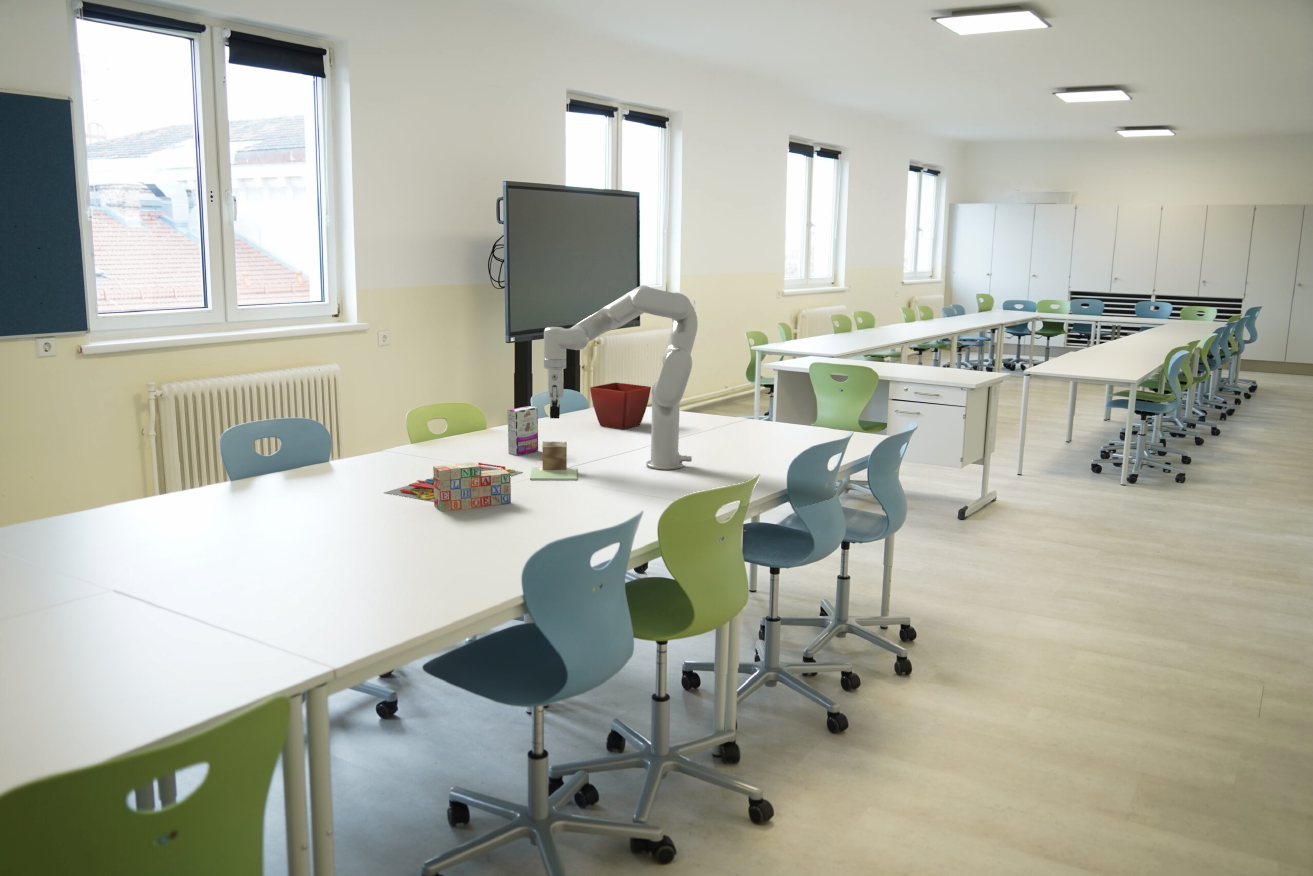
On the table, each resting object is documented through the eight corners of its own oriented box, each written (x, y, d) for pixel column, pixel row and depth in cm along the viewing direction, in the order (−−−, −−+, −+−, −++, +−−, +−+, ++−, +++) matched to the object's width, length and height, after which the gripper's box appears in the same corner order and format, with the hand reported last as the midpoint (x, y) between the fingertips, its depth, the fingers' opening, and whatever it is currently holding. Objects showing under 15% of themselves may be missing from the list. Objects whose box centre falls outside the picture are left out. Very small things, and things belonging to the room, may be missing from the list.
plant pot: (625, 432, 404) (626, 391, 401) (588, 426, 414) (588, 387, 411) (651, 425, 420) (652, 386, 417) (614, 420, 430) (615, 382, 427)
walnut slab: (566, 467, 334) (566, 441, 332) (566, 470, 330) (566, 444, 328) (542, 467, 333) (542, 441, 332) (542, 470, 329) (542, 443, 328)
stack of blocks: (503, 499, 295) (503, 458, 293) (511, 503, 290) (510, 463, 287) (433, 506, 285) (432, 465, 282) (440, 512, 279) (439, 469, 277)
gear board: (432, 495, 289) (383, 487, 298) (433, 503, 289) (383, 494, 298) (522, 466, 328) (476, 460, 337) (522, 473, 329) (476, 467, 337)
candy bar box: (528, 449, 366) (528, 405, 363) (538, 451, 363) (538, 407, 360) (507, 453, 357) (506, 409, 354) (517, 455, 354) (516, 410, 351)
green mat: (576, 469, 335) (576, 467, 335) (576, 480, 320) (576, 478, 320) (532, 469, 334) (532, 467, 334) (530, 480, 318) (530, 477, 318)
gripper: (565, 366, 325) (565, 421, 328) (566, 361, 341) (566, 413, 345) (543, 366, 324) (543, 421, 328) (544, 360, 341) (544, 412, 344)
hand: (554, 416), depth 336 cm, fingers open, 4 cm apart
